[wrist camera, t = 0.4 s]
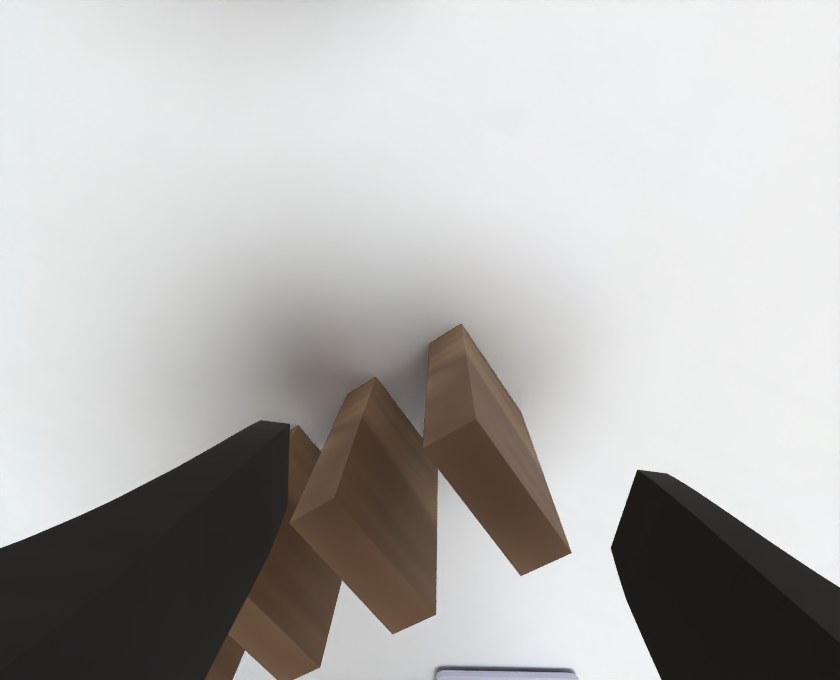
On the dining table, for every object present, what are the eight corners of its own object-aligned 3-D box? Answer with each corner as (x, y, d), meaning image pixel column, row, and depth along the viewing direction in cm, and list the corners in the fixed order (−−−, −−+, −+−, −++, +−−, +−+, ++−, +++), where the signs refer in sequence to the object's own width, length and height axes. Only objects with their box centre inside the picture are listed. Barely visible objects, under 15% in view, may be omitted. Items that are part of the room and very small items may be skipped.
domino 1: (336, 514, 22) (282, 684, 14) (272, 441, 21) (176, 586, 13) (361, 499, 22) (320, 667, 14) (298, 425, 20) (214, 564, 13)
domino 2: (410, 473, 21) (392, 634, 13) (347, 394, 20) (289, 523, 12) (437, 458, 21) (435, 614, 13) (375, 376, 19) (334, 497, 12)
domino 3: (490, 429, 20) (520, 575, 12) (429, 343, 19) (422, 448, 11) (521, 412, 20) (571, 552, 12) (461, 323, 18) (475, 418, 11)
